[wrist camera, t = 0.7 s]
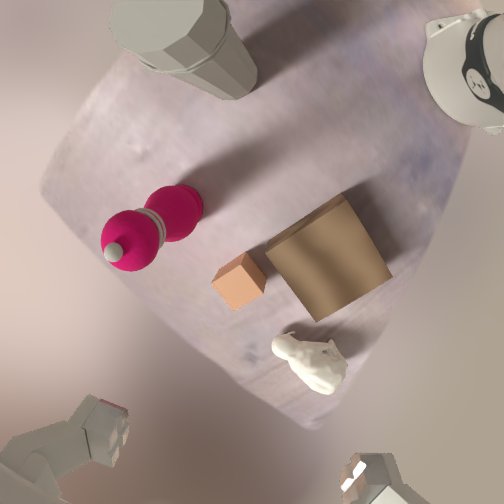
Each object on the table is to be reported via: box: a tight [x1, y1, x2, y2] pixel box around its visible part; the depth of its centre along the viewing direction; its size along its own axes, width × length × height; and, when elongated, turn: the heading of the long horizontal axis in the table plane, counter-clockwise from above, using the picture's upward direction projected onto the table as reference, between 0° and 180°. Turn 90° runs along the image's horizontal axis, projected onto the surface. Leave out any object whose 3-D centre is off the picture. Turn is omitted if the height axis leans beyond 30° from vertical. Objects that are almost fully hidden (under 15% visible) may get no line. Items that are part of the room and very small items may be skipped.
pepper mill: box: [101, 185, 203, 272], centre depth 36 cm, size 7×7×20 cm
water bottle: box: [110, 0, 258, 100], centre depth 26 cm, size 9×8×25 cm
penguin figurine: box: [272, 331, 348, 395], centre depth 46 cm, size 6×8×12 cm
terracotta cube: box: [211, 252, 267, 311], centre depth 45 cm, size 5×5×5 cm
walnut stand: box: [265, 193, 393, 322], centre depth 42 cm, size 12×12×5 cm
